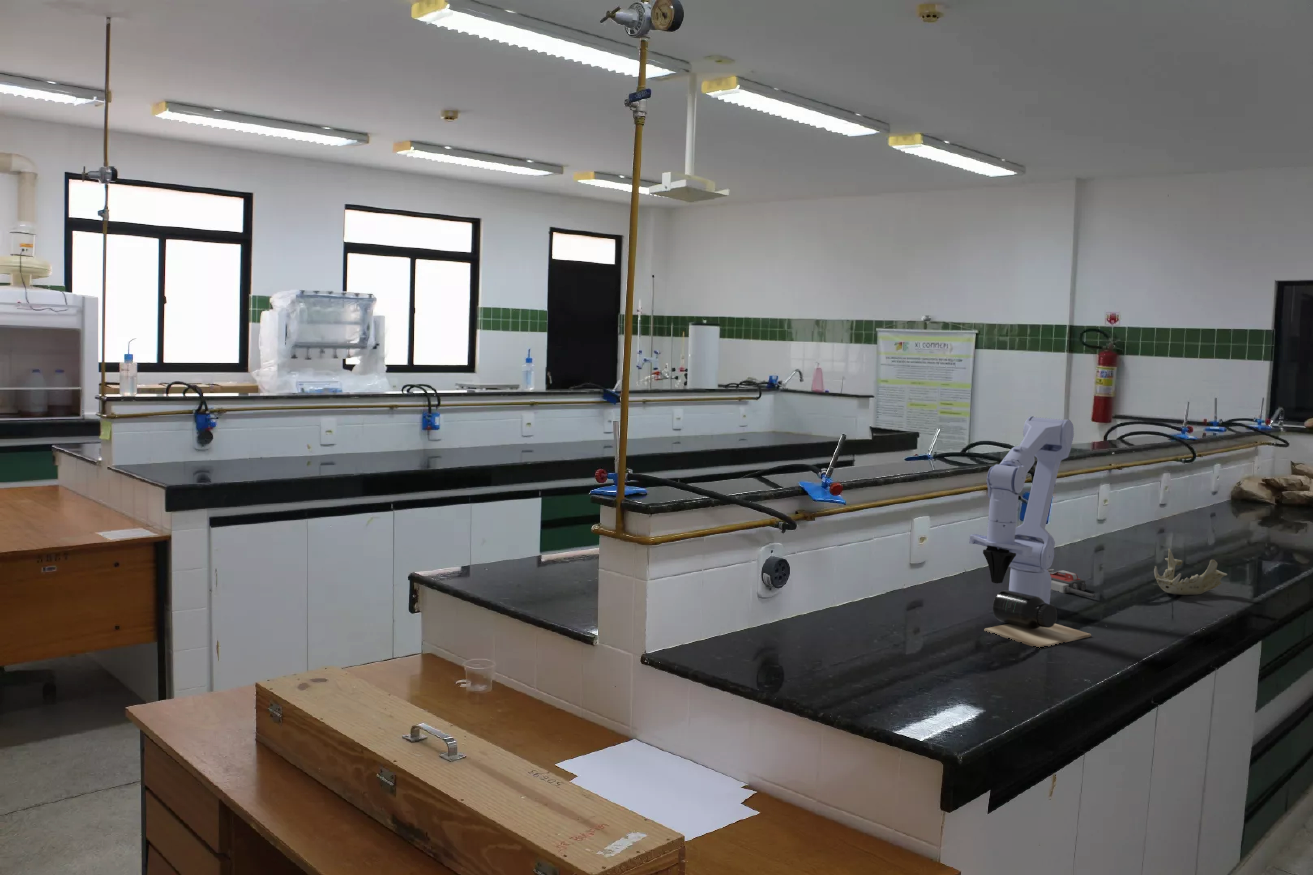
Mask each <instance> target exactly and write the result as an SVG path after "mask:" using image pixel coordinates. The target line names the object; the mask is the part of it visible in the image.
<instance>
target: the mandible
mask: <svg viewBox="0 0 1313 875" xmlns="http://www.w3.org/2000/svg"><path fill="white" fill-rule="evenodd" d="M1167 556H1168V557H1166V558H1164V559H1165V561H1166V562H1167V568H1166V569H1165V570H1164V572H1163V575H1160V574H1159V572H1158V571H1159V570H1158V567H1157V565H1154V569H1153V573H1154V578H1155V579H1156V583H1157V584H1158V586H1159V588H1160V589H1161V590H1162V591H1163V592H1164V593H1167V594H1172V595H1186V596H1188V595H1190V596H1191V595H1201V594H1202V595H1203V594H1204V593H1206V592H1208V591H1211V590H1213V589H1216V588H1217V587H1218V586H1220V585H1222V584H1223V583H1222V582H1221V581H1222V578H1224V577H1226V576H1228V573H1226V572H1222V571H1220V570H1218V569H1217V567H1218V562H1217V561H1216V560H1215V559H1210V560H1209V564H1208V566H1207V568H1206V570H1205V571H1204V572H1203V573H1202V574H1200V575H1199V574H1198V573H1197V574H1194V575H1191V577H1190V578H1188V577H1186V578H1184V579H1183V578H1182V579H1181V577H1182V573H1178V574H1177V576H1175V570H1176V566H1181V565H1182V564H1183V560H1181V559H1177V558H1174V557H1175V556H1174V554H1173V553H1172V551H1171V549H1170V548H1168V554H1167ZM1180 579H1181V580H1180Z"/></svg>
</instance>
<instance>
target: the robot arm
mask: <svg viewBox="0 0 1313 875" xmlns="http://www.w3.org/2000/svg"><path fill="white" fill-rule="evenodd" d="M1074 432H1075V431H1074V424H1073V422H1072V420H1070V419H1067V418H1066V419H1060V418H1051V417H1049V418H1047V417H1037V416H1034V415H1033V416H1032V415H1030V416H1029V417H1027V418H1026V420H1025V421H1024V424H1023V428H1022V433H1023V434H1022V435H1023V439H1022V440H1021V441H1020V443H1019V445H1017V446H1016V445H1015V446H1014V447H1011V449H1010V450H1009V451H1008V453H1007V454H1006V455H1005V456H1004V457H1003V459H1002V460H1001V461H1000V463H999V464H998V463H995V464H994V465H993V466H991V467H990V468H989V469H988V471H987V476H986V486H987V498H988V499H989V506H988V520H987V530H986V535H984V534H983V535H981V534H977V533H974V534H970V535H969V539H968V540H969V544H970V545H979V546H983V547H986V548H985V549H982V554H983V556H984V557H985V559H986V563H987V565H988V569H989V573H990V580H991V583H993V584H998V585H999V584H1002V583H1003V581H1004V579H1005V576H1006V573H1007V571H1008V569H1009V568H1010V572H1009V583H1008V584H1009V585H1008V591H1013V592H1018V593H1023V594H1027V595H1032V596H1037V597H1039V598H1041V599H1042V600H1043V601H1044V602H1045V603H1047V604H1051V603H1050V602H1051V593H1052V592H1051V591H1052V590H1051V583H1052V580H1051V576H1050V573H1049V572H1048V571H1047V570H1050V568H1051V566H1052V564H1053V562H1054V558H1055V544H1056V541H1055V538H1054V537H1053V536H1052V535H1051V534H1050V532H1048V531H1047V529H1046V525H1047V521H1048V516H1049V512H1050V507H1051V503H1052V499H1053V494H1054V491H1055V487H1056V486H1055V485H1056V483H1057V482H1056V481H1057V477H1058V473H1059V469H1060V465H1061V462H1062V461H1063V460H1065V459H1068V458H1069V456H1070V453H1071V450H1072V447H1073V446H1072V445H1073V440H1074V436H1075V433H1074ZM1035 458H1036V459H1037V463H1036V466H1035V471H1034V476H1033V478H1032V483H1031V488H1030V492H1029V496H1028V501H1027V505H1026V509H1025V513H1024V518H1023V523H1021V524H1020V525H1018V526H1017V517H1018V504H1019V494H1020V493H1021V492H1022V491H1023V489H1024V485H1025V481H1026V479H1027V474H1029V473H1028V472H1029V471H1030V470H1031V468H1032V467H1033V466H1034V464H1035V462H1036V461H1035V460H1036V459H1035Z"/></svg>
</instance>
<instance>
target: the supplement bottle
mask: <svg viewBox="0 0 1313 875" xmlns="http://www.w3.org/2000/svg"><path fill="white" fill-rule="evenodd" d="M992 613H993V616H994V617H995V618H996V620H998V621H999V622H1001V623H1006V624H1013V625H1017V626H1022V627H1026V628H1030V629H1036V628H1039V627H1046V628H1050V627H1052V626H1053V625H1054V624H1056V622H1057V618H1058V611H1057V608H1056V606H1055V605H1053V604H1051V603H1050V604H1047V603H1045V602H1044V601H1043V600H1042V599H1041V598H1039V597H1037V596H1032V595H1027V594H1023V593H1018V592H1013V591H1009V589H1008V590H1007V589H1003V590H1001V591H999V592H998V593H997V594H996V595H995V597H994V599H993V602H992Z"/></svg>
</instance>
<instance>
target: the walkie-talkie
mask: <svg viewBox="0 0 1313 875" xmlns="http://www.w3.org/2000/svg"><path fill="white" fill-rule="evenodd" d="M1047 571H1048V572H1049V573H1050V576H1051V580H1052V583H1051V591H1054V592H1055V591H1056V592H1058V591H1059V593H1062V594H1066V593H1069V594H1070V593H1072V594H1076V595H1079V596H1083V597H1085V596H1086V597H1088V598H1093V599H1095V598H1096V595H1095V594H1093V593H1090V592H1087V591H1085V590H1086V589H1087V584H1086V580H1084V579H1081V578H1079V577H1078V574H1077V573H1075V572H1070V571H1068V570H1067V571H1066V570H1063V569H1062V570H1056V571H1055V569H1054V568H1051V569H1050V568H1049V569H1047Z"/></svg>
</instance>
